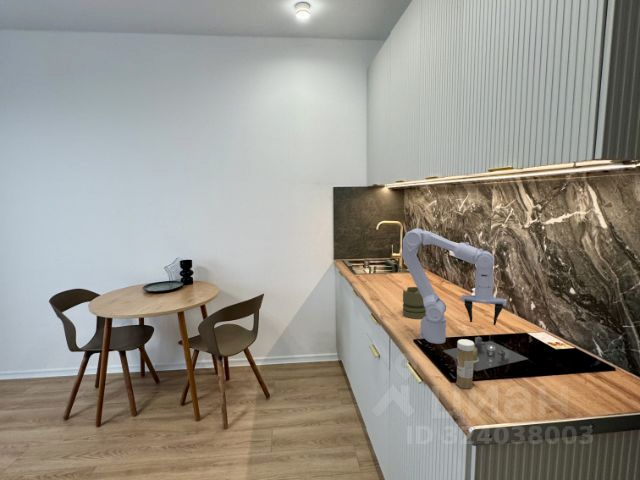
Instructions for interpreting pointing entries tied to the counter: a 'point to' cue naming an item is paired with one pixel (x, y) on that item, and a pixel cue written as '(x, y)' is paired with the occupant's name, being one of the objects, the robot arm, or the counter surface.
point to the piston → (413, 304)
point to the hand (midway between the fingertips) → (482, 322)
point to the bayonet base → (489, 355)
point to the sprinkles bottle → (465, 363)
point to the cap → (475, 354)
